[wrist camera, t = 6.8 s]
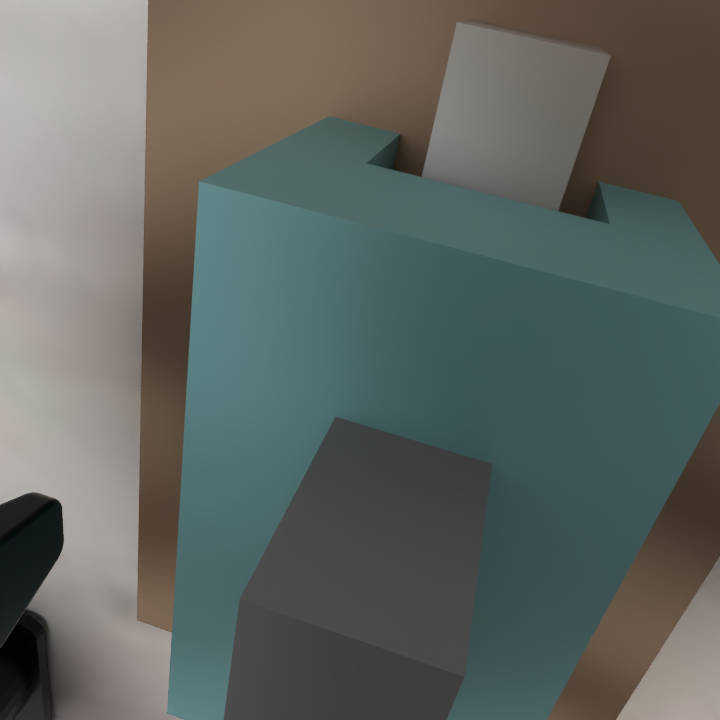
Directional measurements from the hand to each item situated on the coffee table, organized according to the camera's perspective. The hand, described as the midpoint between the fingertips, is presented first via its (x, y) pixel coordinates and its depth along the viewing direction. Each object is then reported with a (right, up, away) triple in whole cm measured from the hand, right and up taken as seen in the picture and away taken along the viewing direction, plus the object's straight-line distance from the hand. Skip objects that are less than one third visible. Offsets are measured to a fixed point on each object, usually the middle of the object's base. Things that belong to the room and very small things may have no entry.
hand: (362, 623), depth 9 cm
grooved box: (+1, +3, +5) cm, 6 cm away
